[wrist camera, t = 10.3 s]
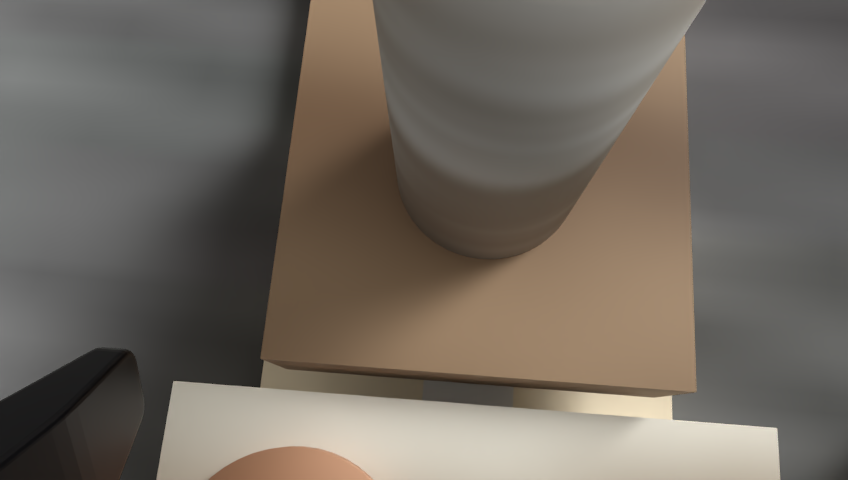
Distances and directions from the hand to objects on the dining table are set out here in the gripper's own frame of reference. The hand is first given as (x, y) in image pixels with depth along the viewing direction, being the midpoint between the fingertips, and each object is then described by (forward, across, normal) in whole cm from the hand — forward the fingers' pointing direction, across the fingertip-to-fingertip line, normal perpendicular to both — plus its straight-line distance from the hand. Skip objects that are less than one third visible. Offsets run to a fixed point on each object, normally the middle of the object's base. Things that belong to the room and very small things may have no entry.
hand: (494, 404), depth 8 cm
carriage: (+8, 0, +1) cm, 8 cm away
